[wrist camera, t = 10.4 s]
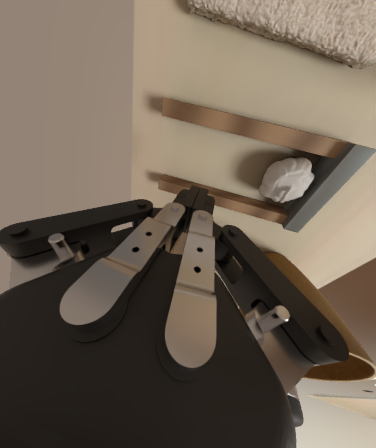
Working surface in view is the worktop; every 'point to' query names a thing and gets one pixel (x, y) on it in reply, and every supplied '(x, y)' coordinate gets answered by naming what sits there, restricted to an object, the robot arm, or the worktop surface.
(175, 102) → the guide track
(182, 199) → the robot arm
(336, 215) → the worktop surface
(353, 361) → the plant pot
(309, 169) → the garlic
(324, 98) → the worktop surface
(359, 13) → the washcloth
